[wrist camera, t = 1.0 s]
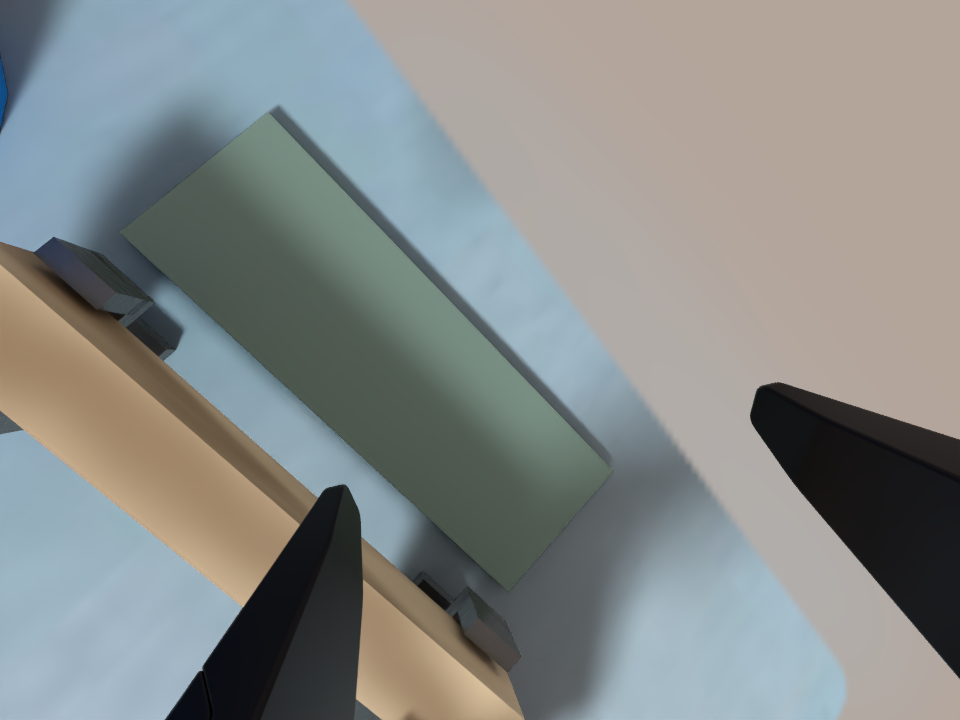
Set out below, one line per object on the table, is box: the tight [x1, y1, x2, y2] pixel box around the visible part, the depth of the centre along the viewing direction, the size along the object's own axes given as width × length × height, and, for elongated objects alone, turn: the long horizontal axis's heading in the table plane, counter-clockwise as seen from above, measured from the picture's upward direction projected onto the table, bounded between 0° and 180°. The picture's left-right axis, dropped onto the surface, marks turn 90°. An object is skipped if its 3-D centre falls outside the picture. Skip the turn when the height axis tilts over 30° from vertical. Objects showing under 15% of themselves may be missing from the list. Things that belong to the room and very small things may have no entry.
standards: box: [0, 237, 521, 720], centre depth 16 cm, size 7×24×8 cm, turn 45°
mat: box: [119, 112, 613, 592], centre depth 21 cm, size 8×25×1 cm, turn 45°
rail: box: [0, 242, 525, 720], centre depth 15 cm, size 3×24×3 cm, turn 45°
